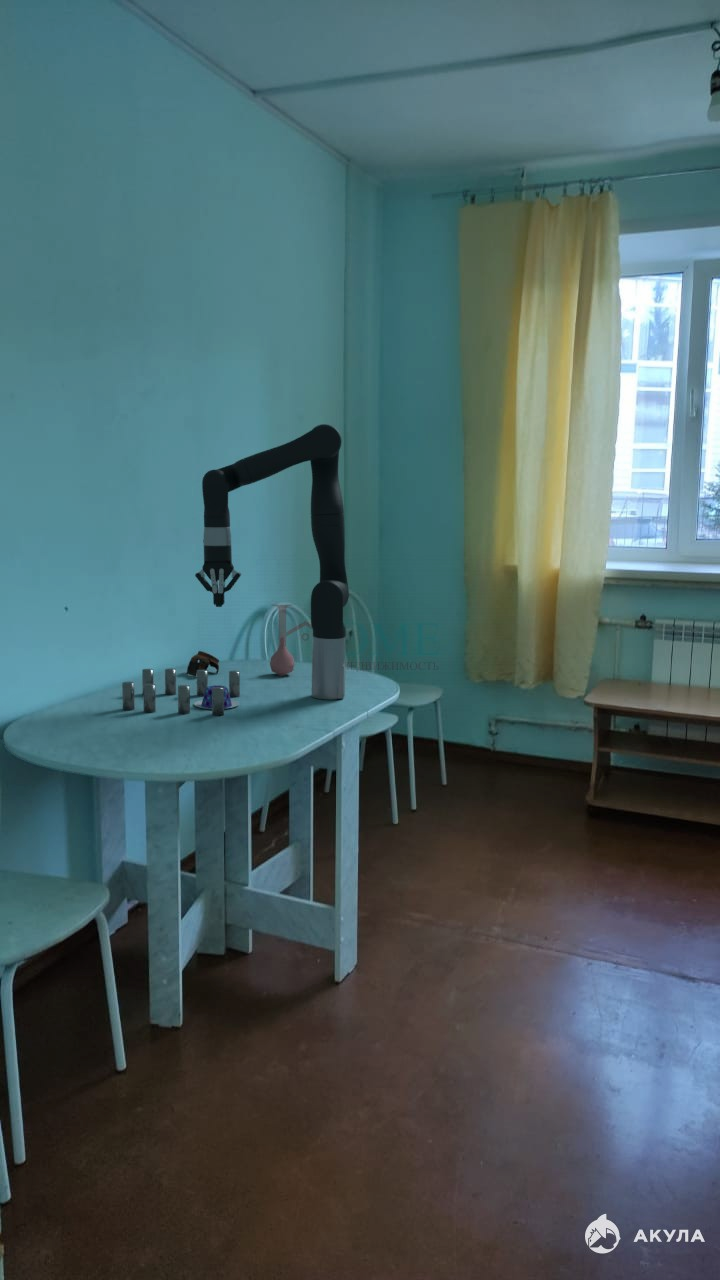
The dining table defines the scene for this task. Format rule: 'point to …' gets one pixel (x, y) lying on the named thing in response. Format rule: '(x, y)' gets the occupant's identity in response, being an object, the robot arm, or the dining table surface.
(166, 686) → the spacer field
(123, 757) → the dining table surface
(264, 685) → the dining table surface
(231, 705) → the pudding
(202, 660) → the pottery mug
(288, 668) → the perfume bottle
